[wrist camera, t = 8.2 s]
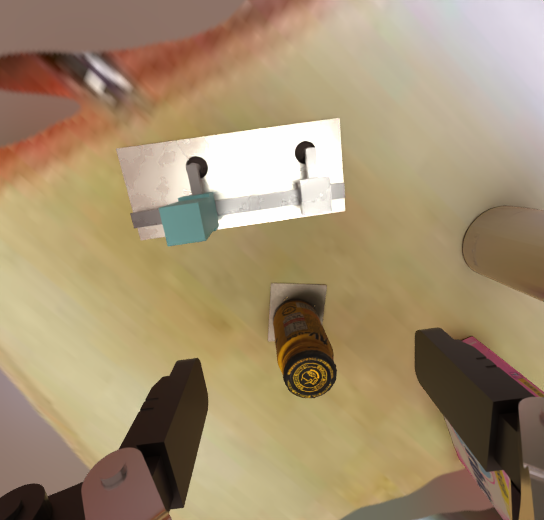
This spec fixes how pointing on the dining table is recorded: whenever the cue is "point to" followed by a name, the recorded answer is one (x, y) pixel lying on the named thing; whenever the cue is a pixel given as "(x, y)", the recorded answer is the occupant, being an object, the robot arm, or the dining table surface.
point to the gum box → (489, 482)
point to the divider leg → (190, 213)
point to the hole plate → (240, 174)
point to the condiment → (301, 338)
